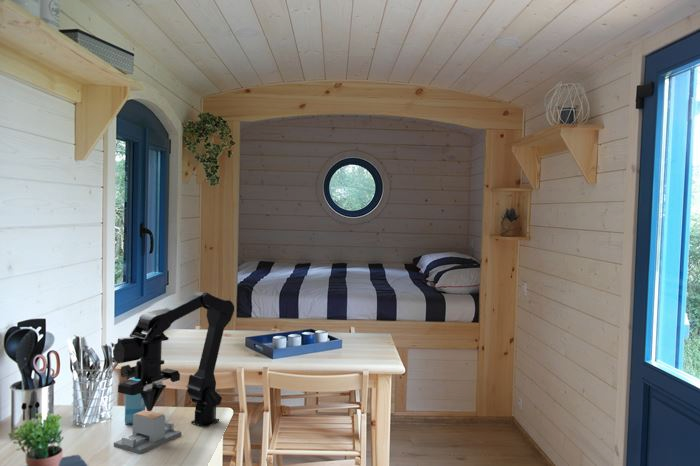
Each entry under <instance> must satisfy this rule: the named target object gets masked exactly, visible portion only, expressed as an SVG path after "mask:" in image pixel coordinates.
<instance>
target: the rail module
mask: <svg viewBox="0 0 700 466" xmlns="http://www.w3.org/2000/svg"><path fill="white" fill-rule="evenodd" d="M165 421H166V415H165V414H164V413H160V412H157V411H153V410H152V411H147V409H145V410H143V411H141V412H138V413H135V414H133V424H132V435H133V437H134V436H137V435H139V434H143V435H147V436H149V441H150V442H155V441H158V440H160V439H162V438H164V437H165Z"/></svg>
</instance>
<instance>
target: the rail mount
mask: <svg viewBox="0 0 700 466" xmlns="http://www.w3.org/2000/svg"><path fill="white" fill-rule="evenodd" d="M181 435H182V431H179V430H176V429H175V424H174V423H173V422H170V421H169V422H168V421H166V420H165V437H164V438H162V439H160V440H158V441H155V442H150V441H149V436H147V435H143V434H139V435H137V436H134V437H133V434H132V435H130V436H122V437H121V439H119V440H117V441H114V442H113V447H116V448H119V449H123V450H126V451H128V452H132V453H136V454H138V455H140V454H143V453H144V452H147V451H149V450H151V449H154V448H156V447H158V446H160V445H162V444H165V443H167V442H170V441H171V440H173V439H176V438H178V437H181Z"/></svg>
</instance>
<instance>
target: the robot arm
mask: <svg viewBox="0 0 700 466" xmlns="http://www.w3.org/2000/svg"><path fill="white" fill-rule="evenodd" d="M201 308H202V309H206V319H207V324H208V326H207V331H206V334H205V340H204V344H203V348H202V352H201V356H200V361H199V365H198V368H197V371H196V372H195V373H194V374H190V375H189V377H188V383H187V385H186V388H187V394H188V396H189V397H190V400H191V402H193V403H195V407H194V408H195V410H194V420H191V422H190V423H191V424H193V423H195V424H194V425H197V424H199V425H198V426H201V425H203V426H202V427H205V426H208V427H209V425H210V426H212V425H214V424H216V423H218V422H217V421H219V420H220V419H219V418H217V407H218V406H220V405H221V403H222V399H223V397H222V396H221V395H220V394H219V393H218V392H217V391H216V388H217V387H216V386H217V382H216V381H217V380H216V377H215V369H216V365H217V364H216V363H217V360H218V356H219V351H220V348H221V344H222V340H223V335H224V331H225V328H226V327H227V325H228V324H229V323H230V322H231V320H232V318H233V315H234V313H235V305H234V303H233V302H232V301H231V300H230V299H224V298H219V297H216V296H214V295H212V294H210V293H209V292H206V291H200V290H199V291H196V292H194V294H192V295H190V296H188V297H185V298H184V299H182V300H179V301H178V302H175V303H174V304H171V305H169V306H167V307H165V308H162V309H156V310H151V311H147V312H144V313H142V314H141V315H140V316H139V319H138V322H137V323H136V325H135V326H134V328H133V329H132V331H131V333H129V337H118V338H117V342H116V343H115V345H114V346H113V349H112V355H113V359H114V361H115V362H116V363H117V364H124V363H129V362H134V361H136V365H135V366H131V365H130V364H127V365H123V366H120V376H121V378H125V380H124V381H120V383H118V385H117V393H120V394H124V395H125V394H127V395H136V394H139V393H140V394H141V396H142V398H143V400H144V403H145V410H147V411H153V409H154V407H155V405H156V403H157V401H158V400H159V398H160V395H161V394H162V392H163V391H164V389H165V388H167V385H166V384H163V381H165V380H168V379H170V381H171V382H172V383H174V382H175V383H176V382H178V381H180V380H181V374H180V372H179V370H176V369H171V368H164V369H162V365H164V364H165V360H164V359H162V346H163V345H162V342H164V341H169V338H170V337H169V336H167V335H165V333H164V332H165V331H167V330H168V329H169V328H170V327H171V326H172V324H173V323H174V322H175V321H176V322H177V320H179V319H181V318H183V317H185V316H187V315H189V314H191V313H193V312H195V311H197V310H199V309H201ZM132 377H135V379H140V381H135V380H130V379H131V378H132ZM220 421H221V420H220ZM220 421H219V422H220ZM215 422H216V423H215ZM213 423H214V424H213ZM211 424H212V425H211Z"/></svg>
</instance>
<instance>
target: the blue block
mask: <svg viewBox="0 0 700 466" xmlns="http://www.w3.org/2000/svg"><path fill="white" fill-rule="evenodd" d="M129 380H135V381H140V379H135V377H132V378H130V379H129ZM124 396H125V397H124V399H125V400H124V402H125V403H124V405H125V406H124V424H127V425H128V424H129V425H130V424H131V425H133V414H135V413H138V412H141V411H143V410H146V406H145V403H144V400H143V398H142V396H141V394H140V393H139V394H136V395H127V394H124Z"/></svg>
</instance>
